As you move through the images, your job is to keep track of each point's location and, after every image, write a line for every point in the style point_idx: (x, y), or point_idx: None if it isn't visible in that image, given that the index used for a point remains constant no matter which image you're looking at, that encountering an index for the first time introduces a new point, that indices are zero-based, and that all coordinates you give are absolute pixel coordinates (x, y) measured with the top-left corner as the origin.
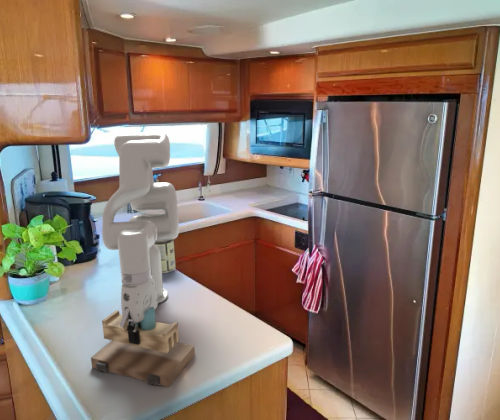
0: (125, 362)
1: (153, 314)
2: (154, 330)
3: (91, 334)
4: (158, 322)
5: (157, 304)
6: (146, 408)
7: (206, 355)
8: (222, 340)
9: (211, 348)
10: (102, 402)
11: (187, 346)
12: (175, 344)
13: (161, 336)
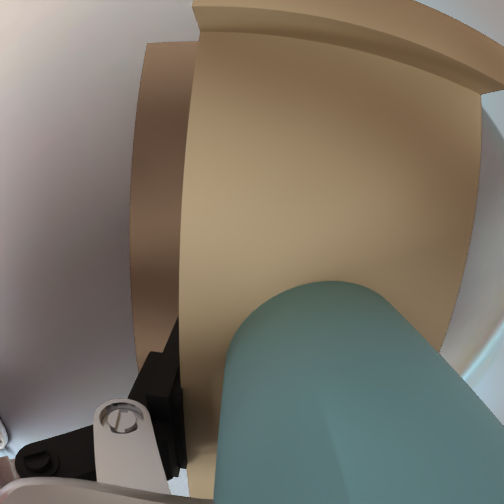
0: None
1: (455, 435)
2: (397, 249)
3: (180, 492)
4: (189, 297)
5: (3, 501)
6: (497, 143)
7: (154, 17)
8: (46, 23)
9: (100, 26)
10: (487, 295)
11: (159, 73)
12: (155, 153)
13: (479, 109)
